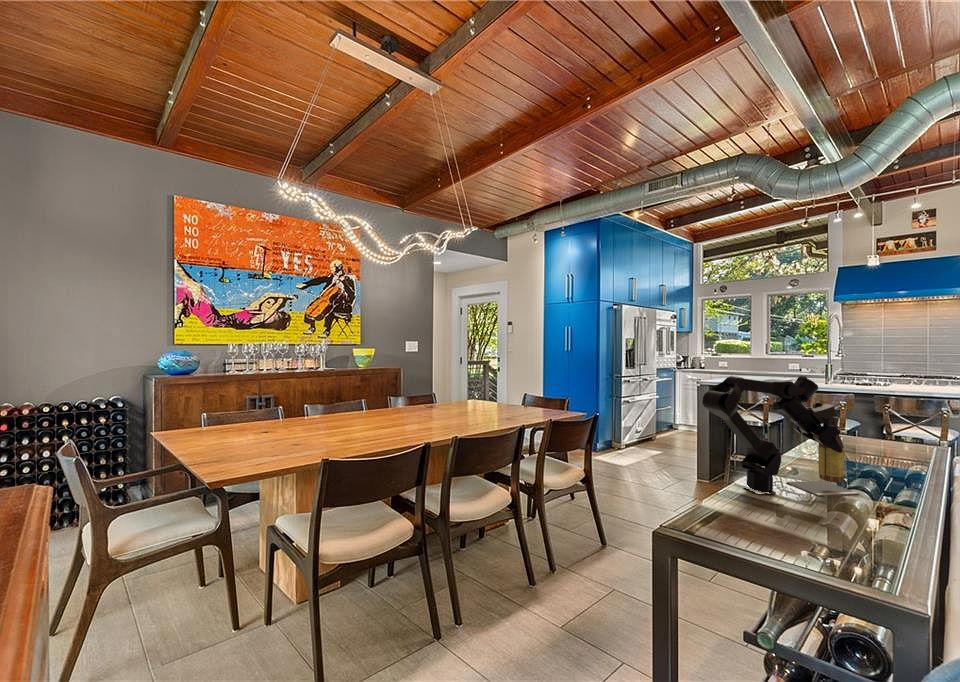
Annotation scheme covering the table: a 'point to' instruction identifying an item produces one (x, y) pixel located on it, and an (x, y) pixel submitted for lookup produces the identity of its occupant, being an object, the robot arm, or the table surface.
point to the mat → (822, 488)
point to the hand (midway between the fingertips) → (835, 449)
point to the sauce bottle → (831, 458)
